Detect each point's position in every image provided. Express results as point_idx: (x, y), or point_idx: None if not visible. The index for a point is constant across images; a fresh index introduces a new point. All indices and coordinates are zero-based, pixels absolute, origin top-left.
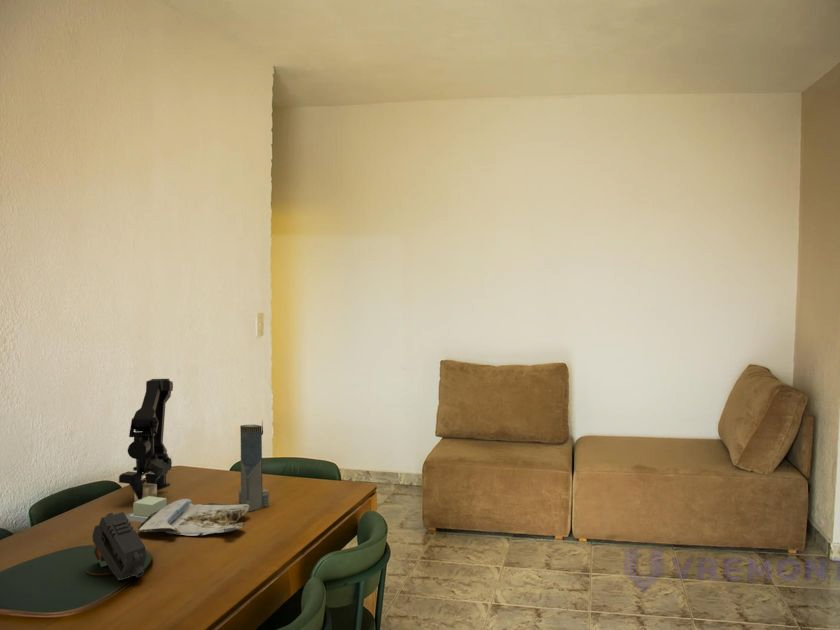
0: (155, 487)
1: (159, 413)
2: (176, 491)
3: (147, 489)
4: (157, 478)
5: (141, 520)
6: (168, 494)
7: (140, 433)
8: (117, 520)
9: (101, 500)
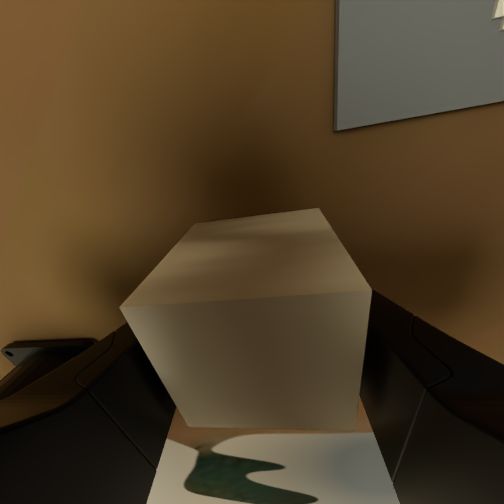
0: (167, 279)
1: None
2: (4, 229)
3: (338, 277)
4: (12, 409)
5: None
6: (79, 228)
7: None
8: None
9: (357, 426)
